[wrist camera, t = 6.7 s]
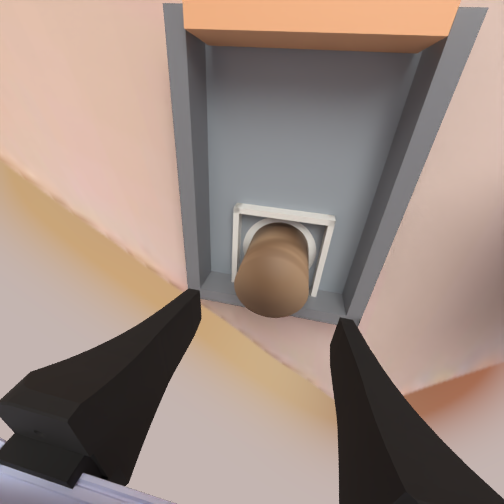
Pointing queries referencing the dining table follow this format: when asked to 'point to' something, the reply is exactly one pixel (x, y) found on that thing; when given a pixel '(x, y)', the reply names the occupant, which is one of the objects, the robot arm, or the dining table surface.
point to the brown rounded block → (274, 271)
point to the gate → (322, 23)
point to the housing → (304, 153)
